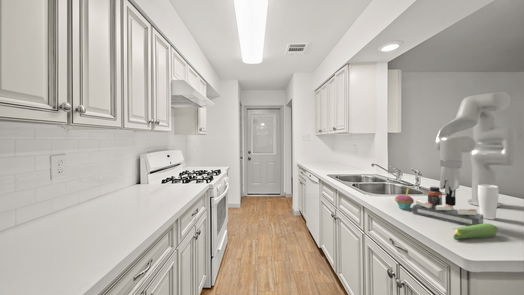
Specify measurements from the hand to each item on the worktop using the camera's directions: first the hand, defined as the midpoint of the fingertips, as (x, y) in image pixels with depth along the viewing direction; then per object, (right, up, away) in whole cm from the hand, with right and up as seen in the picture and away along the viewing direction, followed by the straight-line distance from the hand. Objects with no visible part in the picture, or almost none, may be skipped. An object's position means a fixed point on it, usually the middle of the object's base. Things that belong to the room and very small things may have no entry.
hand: (450, 204), depth 102 cm
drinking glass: (+19, -7, +3) cm, 21 cm away
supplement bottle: (+7, -7, +18) cm, 21 cm away
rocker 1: (-6, -2, +8) cm, 10 cm away
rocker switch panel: (+1, -7, +3) cm, 8 cm away
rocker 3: (+3, -2, -5) cm, 6 cm away
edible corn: (-5, -9, -16) cm, 19 cm away
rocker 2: (-1, -2, +2) cm, 3 cm away
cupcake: (-8, -7, +20) cm, 23 cm away
